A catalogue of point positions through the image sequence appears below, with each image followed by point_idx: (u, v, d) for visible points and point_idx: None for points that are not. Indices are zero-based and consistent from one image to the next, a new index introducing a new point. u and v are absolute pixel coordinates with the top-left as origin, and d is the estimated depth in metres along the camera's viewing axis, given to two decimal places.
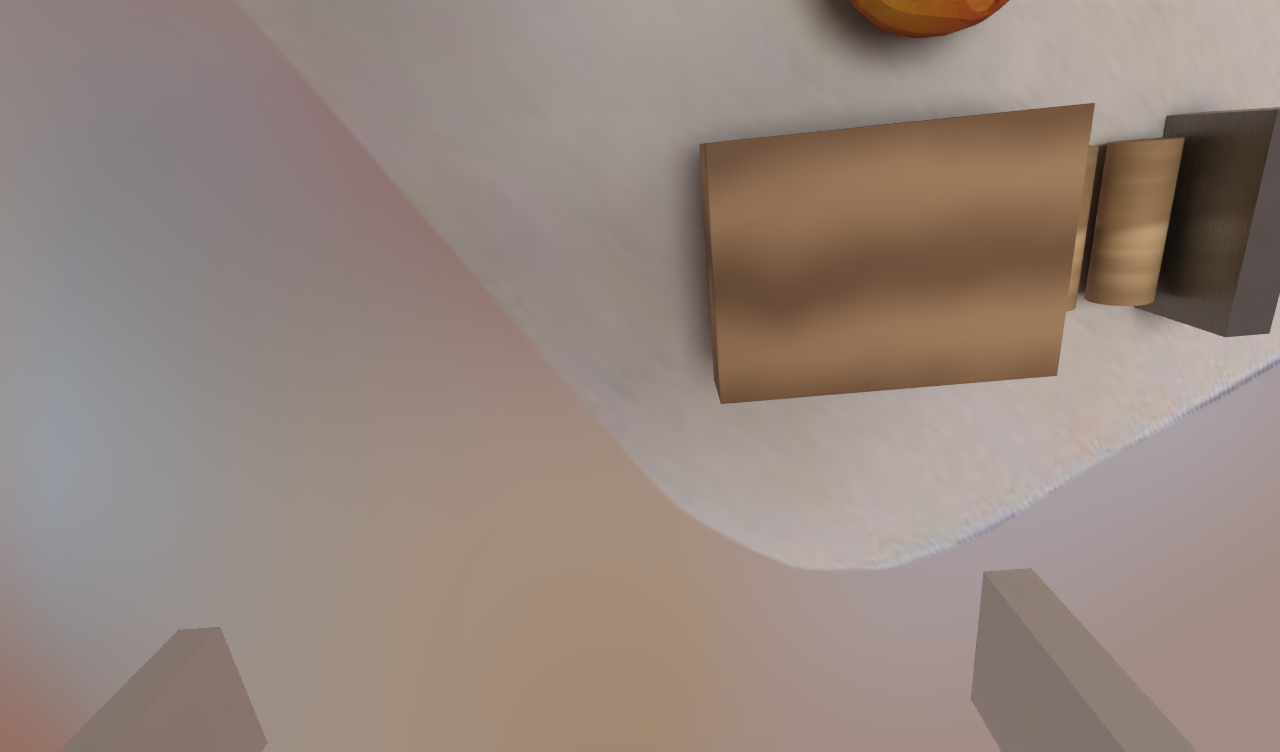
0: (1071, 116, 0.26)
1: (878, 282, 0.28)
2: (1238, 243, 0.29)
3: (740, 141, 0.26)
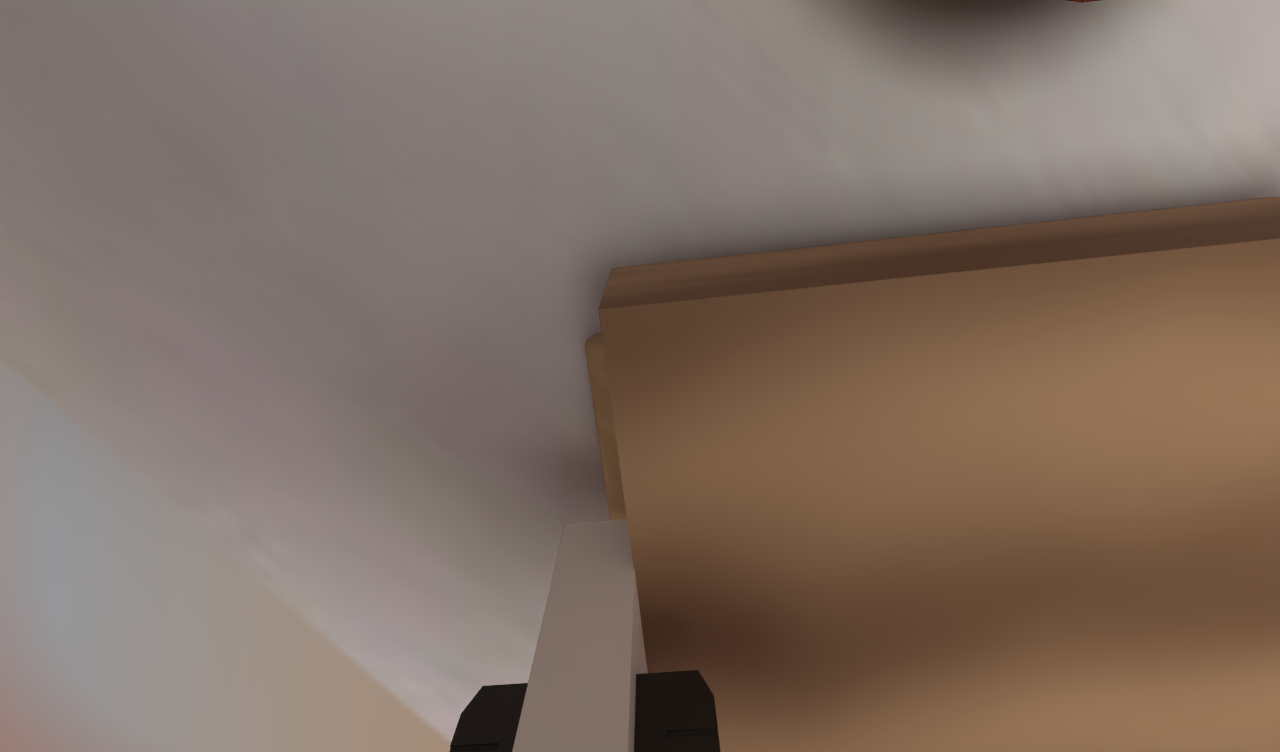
0: None
1: (1053, 625, 0.11)
2: None
3: (695, 303, 0.09)
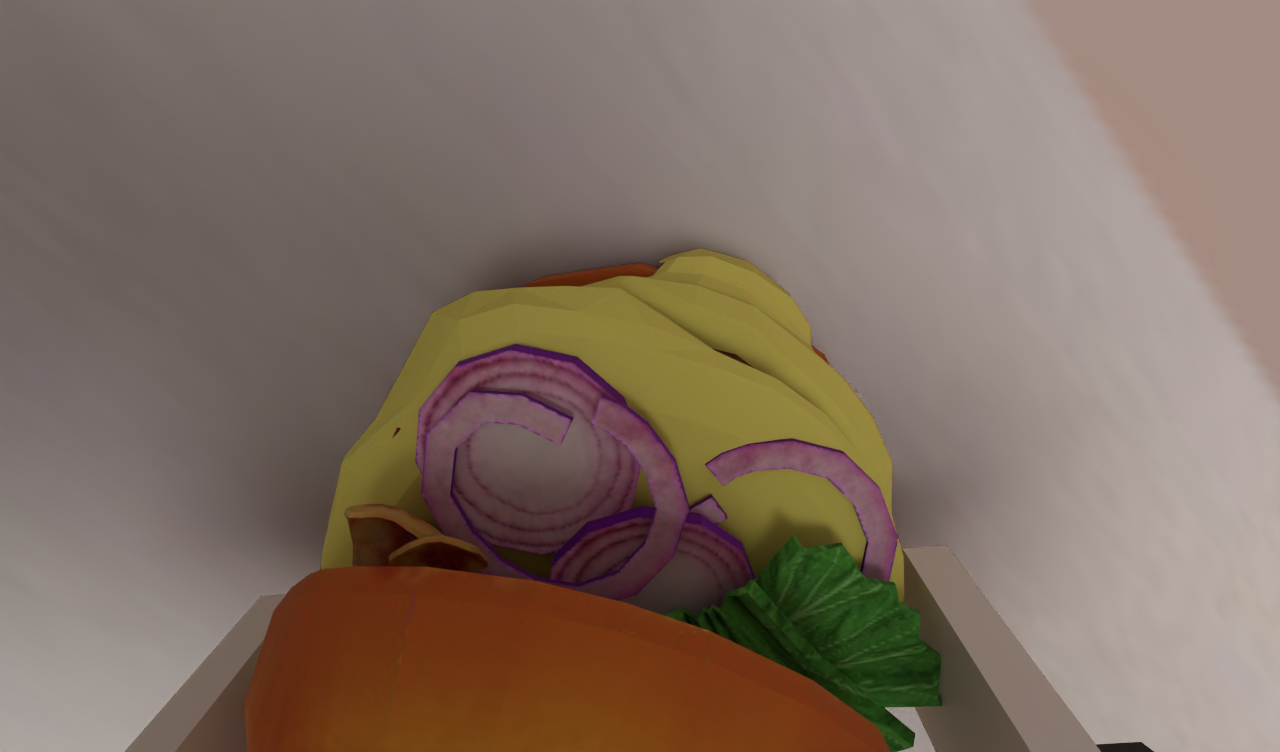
0: None
1: None
2: None
3: None
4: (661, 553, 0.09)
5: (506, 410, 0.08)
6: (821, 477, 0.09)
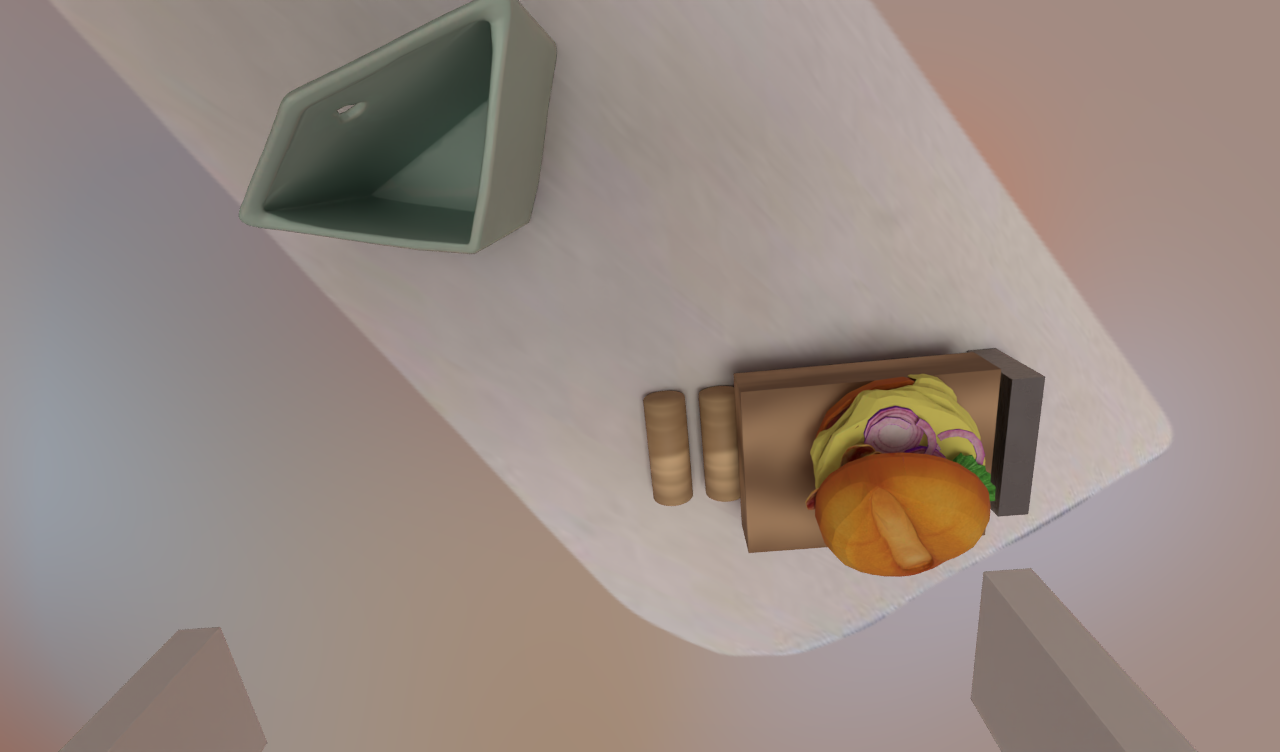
0: (986, 377, 0.39)
1: None
2: (1000, 456, 0.42)
3: (764, 391, 0.39)
4: None
5: (894, 421, 0.35)
6: (966, 438, 0.36)
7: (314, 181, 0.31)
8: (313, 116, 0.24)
